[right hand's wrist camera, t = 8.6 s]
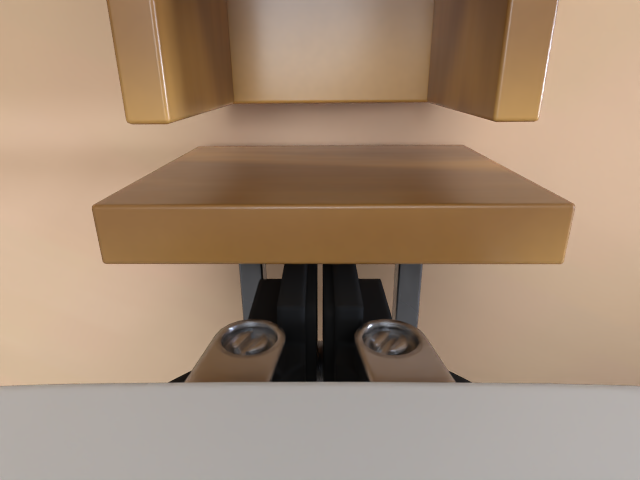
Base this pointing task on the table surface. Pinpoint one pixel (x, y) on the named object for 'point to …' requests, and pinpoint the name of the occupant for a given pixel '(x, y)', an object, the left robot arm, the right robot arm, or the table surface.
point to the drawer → (333, 161)
